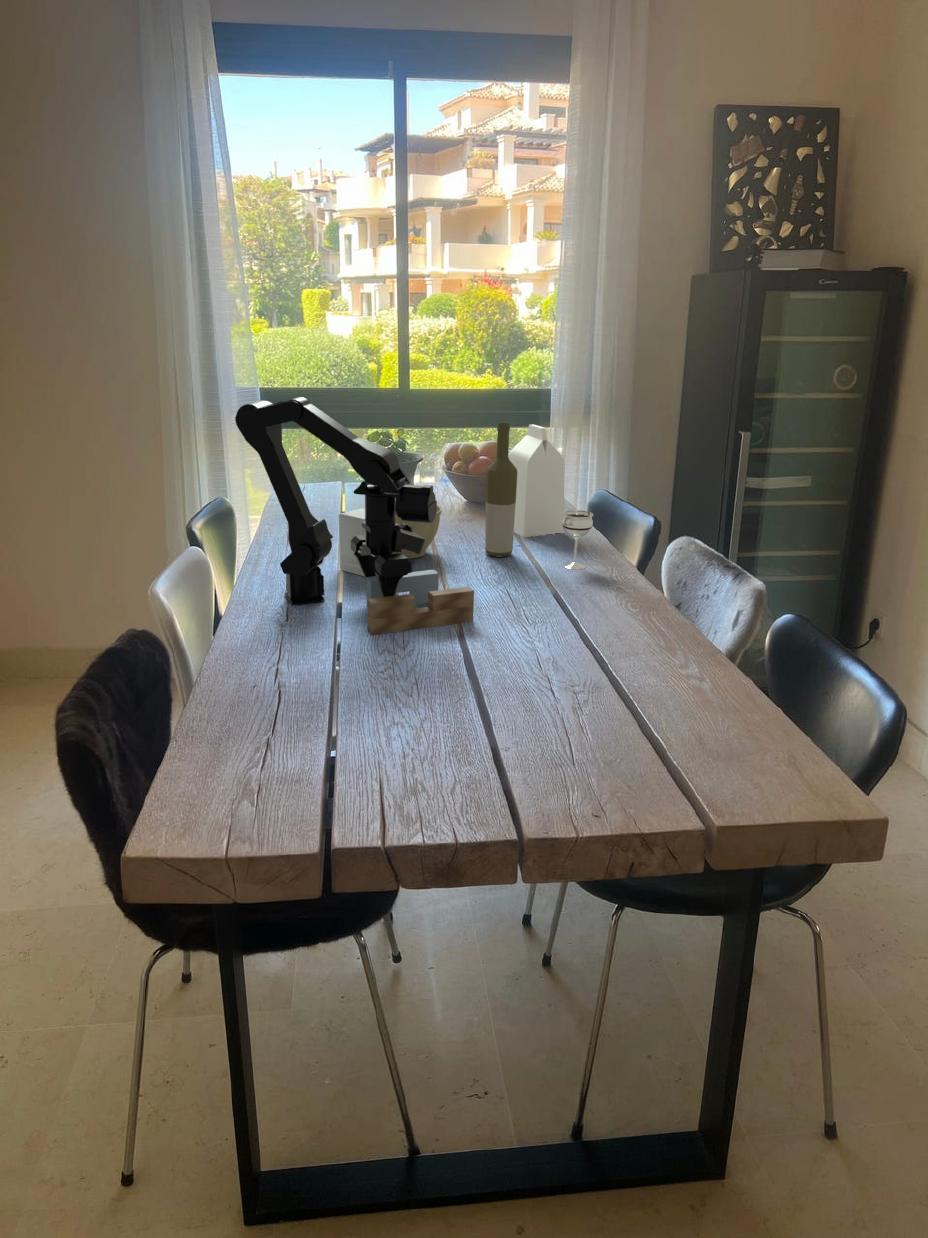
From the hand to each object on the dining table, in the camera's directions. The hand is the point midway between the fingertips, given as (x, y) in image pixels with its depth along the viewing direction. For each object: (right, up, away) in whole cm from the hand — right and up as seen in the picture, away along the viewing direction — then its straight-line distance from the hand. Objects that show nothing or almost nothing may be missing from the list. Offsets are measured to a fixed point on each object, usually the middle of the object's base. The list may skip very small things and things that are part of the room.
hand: (381, 596), depth 182 cm
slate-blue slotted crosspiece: (+4, -1, +2) cm, 5 cm away
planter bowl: (+3, +11, +35) cm, 37 cm away
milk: (+33, +18, +58) cm, 69 cm away
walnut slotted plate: (+8, -6, -8) cm, 13 cm away
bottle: (+24, +10, +36) cm, 45 cm away
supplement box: (-6, +6, +23) cm, 25 cm away
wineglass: (+41, +7, +29) cm, 51 cm away
